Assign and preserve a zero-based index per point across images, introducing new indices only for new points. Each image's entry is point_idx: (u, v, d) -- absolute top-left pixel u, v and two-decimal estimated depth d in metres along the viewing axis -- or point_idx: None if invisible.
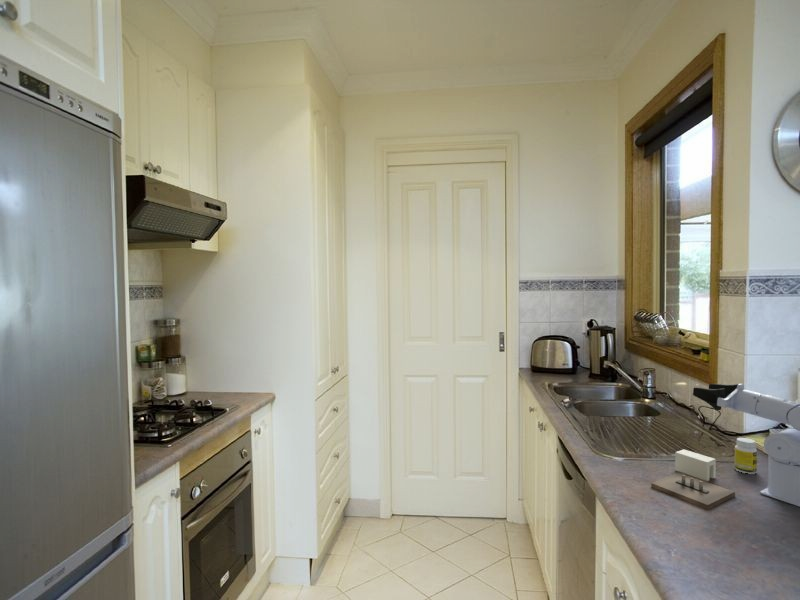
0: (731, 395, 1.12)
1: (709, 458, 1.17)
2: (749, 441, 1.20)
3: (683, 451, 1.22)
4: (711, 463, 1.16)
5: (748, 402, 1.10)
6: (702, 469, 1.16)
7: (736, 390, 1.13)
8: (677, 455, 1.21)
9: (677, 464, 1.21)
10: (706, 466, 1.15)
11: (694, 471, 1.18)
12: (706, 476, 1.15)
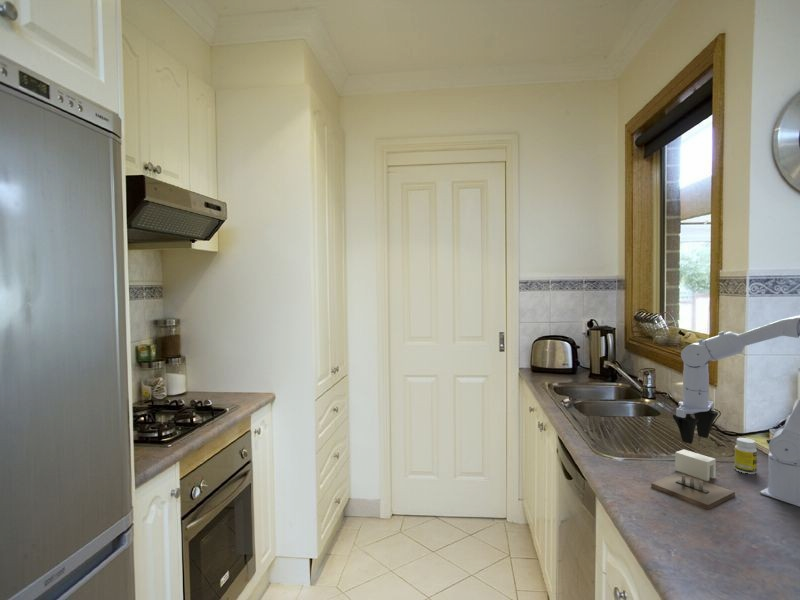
0: (679, 407, 1.18)
1: (709, 458, 1.17)
2: (749, 441, 1.20)
3: (683, 451, 1.22)
4: (711, 463, 1.16)
5: (687, 395, 1.18)
6: (702, 469, 1.16)
7: None
8: (677, 455, 1.21)
9: (677, 464, 1.21)
10: (706, 466, 1.15)
11: (694, 471, 1.18)
12: (706, 476, 1.15)
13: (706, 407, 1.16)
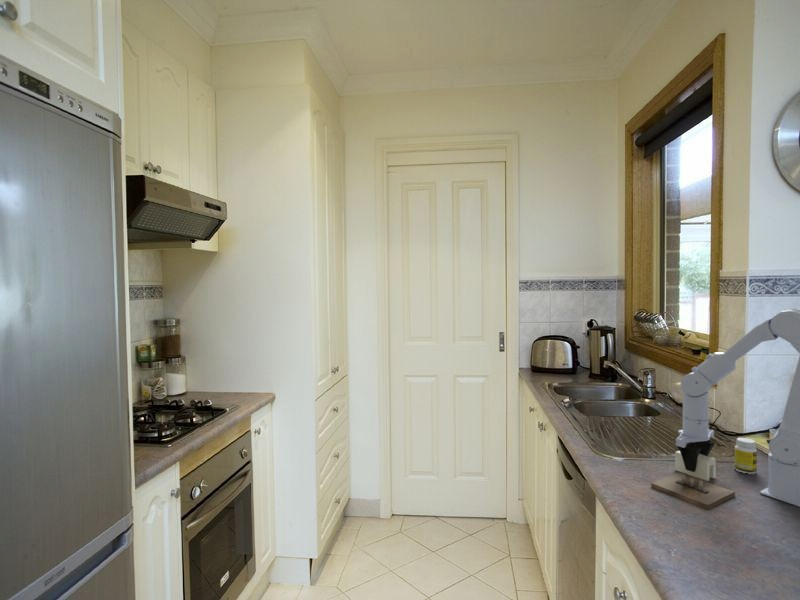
0: (679, 436, 1.18)
1: (709, 457, 1.17)
2: (749, 440, 1.20)
3: None
4: (711, 463, 1.16)
5: (687, 424, 1.18)
6: (702, 469, 1.16)
7: (681, 434, 1.20)
8: (677, 455, 1.21)
9: (677, 463, 1.21)
10: (706, 466, 1.15)
11: None
12: (706, 476, 1.15)
13: (706, 437, 1.16)
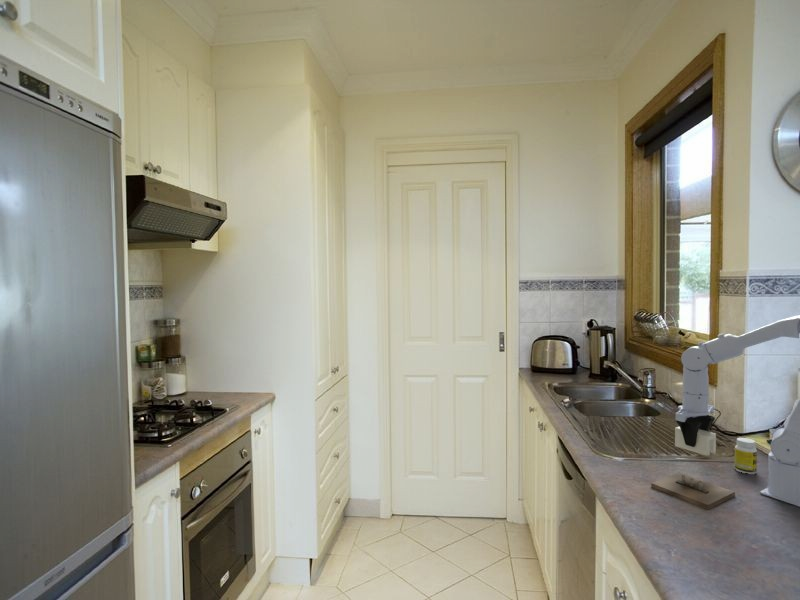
0: (679, 411, 1.17)
1: (709, 432, 1.16)
2: (749, 440, 1.20)
3: None
4: (711, 437, 1.15)
5: (686, 399, 1.17)
6: (702, 444, 1.15)
7: (681, 409, 1.19)
8: (677, 430, 1.20)
9: (677, 439, 1.20)
10: (706, 440, 1.14)
11: None
12: (706, 450, 1.14)
13: (706, 411, 1.15)
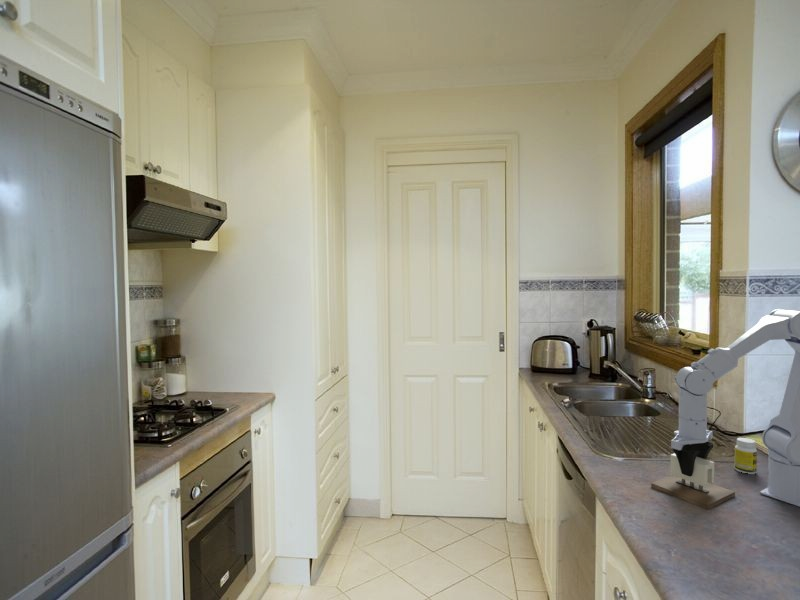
0: (675, 437, 1.09)
1: (707, 461, 1.08)
2: (749, 440, 1.20)
3: None
4: (709, 466, 1.06)
5: (683, 425, 1.08)
6: (700, 474, 1.06)
7: (677, 435, 1.11)
8: (672, 458, 1.12)
9: (672, 467, 1.12)
10: (704, 470, 1.05)
11: None
12: (704, 481, 1.05)
13: (704, 438, 1.06)
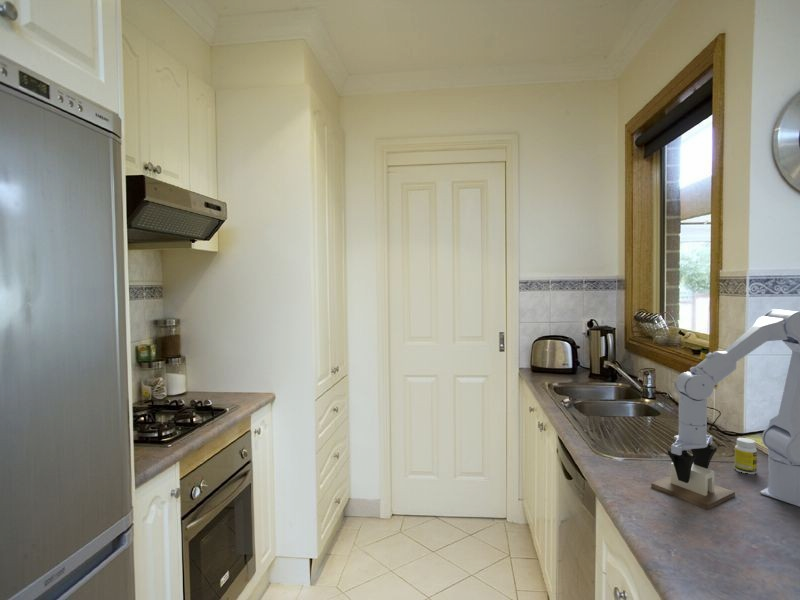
0: (675, 442, 1.09)
1: (707, 470, 1.08)
2: (749, 440, 1.20)
3: None
4: (709, 476, 1.06)
5: (683, 430, 1.08)
6: (700, 483, 1.06)
7: (677, 440, 1.11)
8: (672, 466, 1.12)
9: (672, 476, 1.12)
10: (704, 479, 1.05)
11: (691, 484, 1.08)
12: (704, 490, 1.05)
13: (704, 443, 1.07)
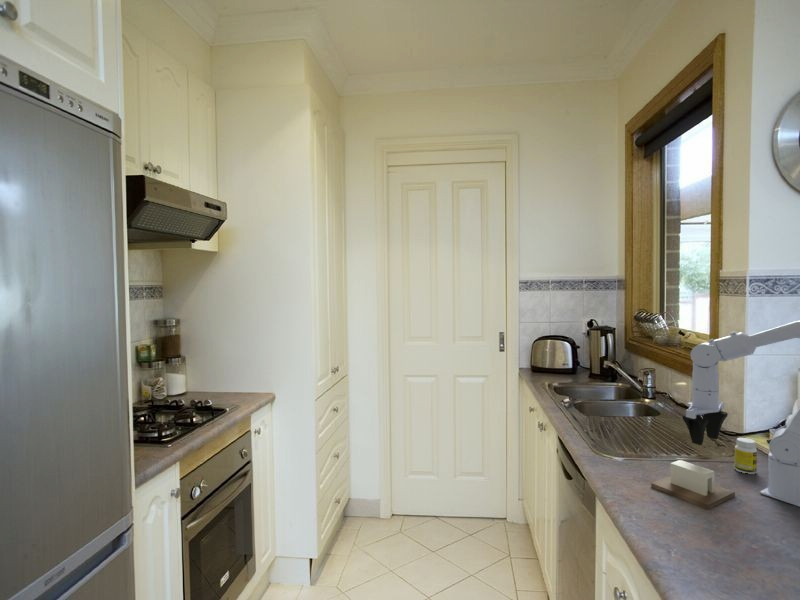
0: (689, 408, 1.16)
1: (707, 470, 1.08)
2: (749, 440, 1.20)
3: (679, 462, 1.12)
4: (709, 476, 1.06)
5: (697, 396, 1.16)
6: (700, 483, 1.06)
7: (690, 406, 1.18)
8: (672, 466, 1.12)
9: (672, 476, 1.12)
10: (704, 479, 1.05)
11: (691, 484, 1.08)
12: (704, 490, 1.05)
13: (716, 408, 1.14)
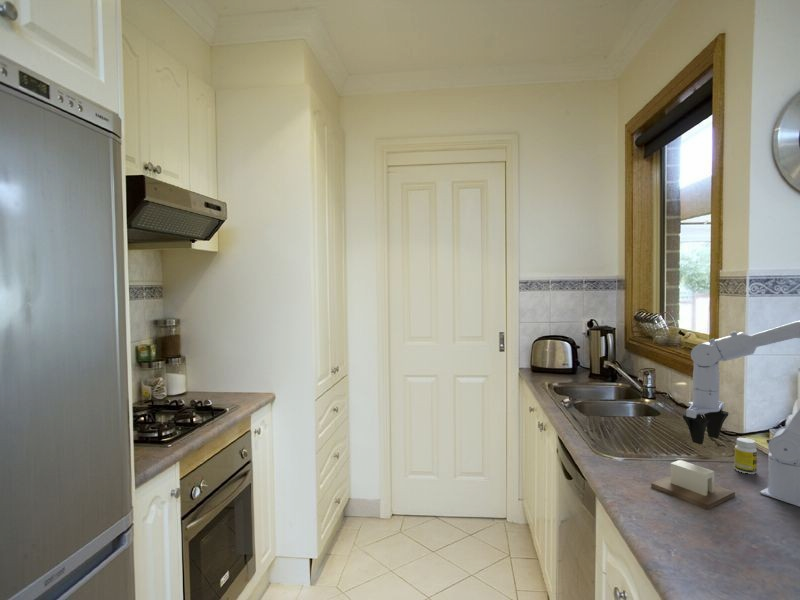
0: None
1: (707, 470, 1.08)
2: (749, 440, 1.20)
3: (679, 462, 1.12)
4: (709, 476, 1.06)
5: (697, 395, 1.17)
6: (700, 483, 1.06)
7: None
8: (672, 466, 1.12)
9: (672, 476, 1.12)
10: (704, 479, 1.05)
11: (691, 484, 1.08)
12: (704, 490, 1.05)
13: (717, 407, 1.15)
